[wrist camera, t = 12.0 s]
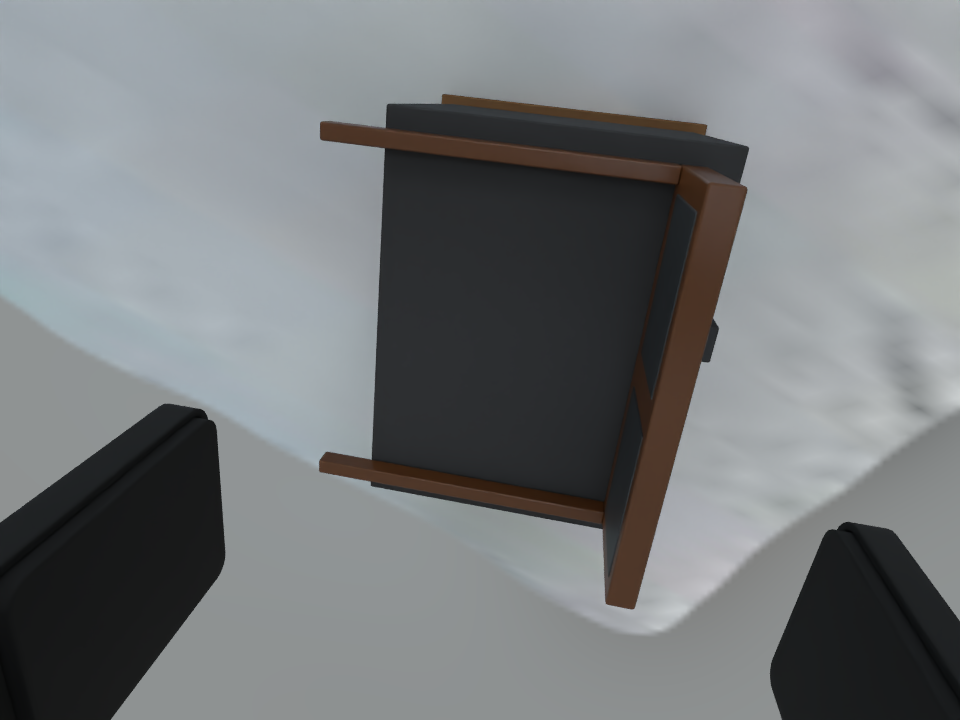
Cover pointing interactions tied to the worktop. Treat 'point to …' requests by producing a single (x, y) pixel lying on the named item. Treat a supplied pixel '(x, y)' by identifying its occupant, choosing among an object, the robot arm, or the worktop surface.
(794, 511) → the worktop surface
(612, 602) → the brown angular bar frame
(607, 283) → the wood-trimmed dark box
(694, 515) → the worktop surface
